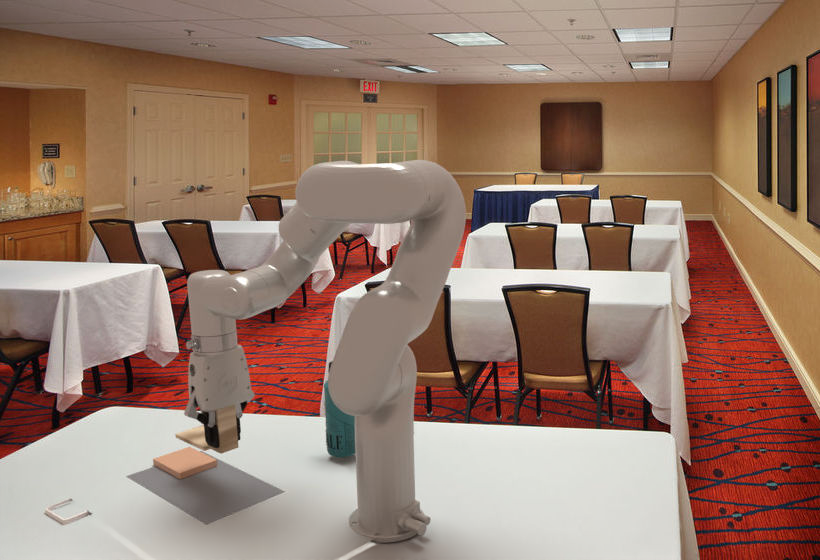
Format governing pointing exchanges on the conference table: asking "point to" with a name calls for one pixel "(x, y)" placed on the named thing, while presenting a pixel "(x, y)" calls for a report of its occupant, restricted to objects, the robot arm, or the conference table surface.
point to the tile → (185, 462)
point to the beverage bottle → (338, 428)
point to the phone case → (67, 520)
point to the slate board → (207, 490)
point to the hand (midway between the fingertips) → (223, 441)
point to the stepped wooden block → (226, 432)
